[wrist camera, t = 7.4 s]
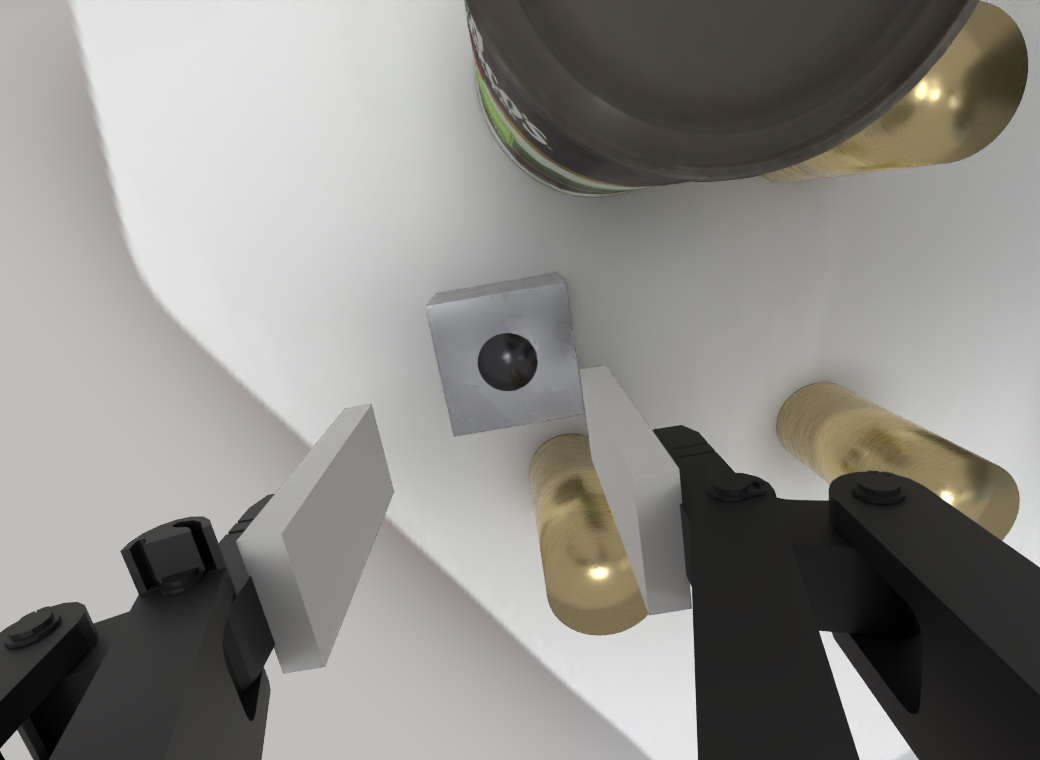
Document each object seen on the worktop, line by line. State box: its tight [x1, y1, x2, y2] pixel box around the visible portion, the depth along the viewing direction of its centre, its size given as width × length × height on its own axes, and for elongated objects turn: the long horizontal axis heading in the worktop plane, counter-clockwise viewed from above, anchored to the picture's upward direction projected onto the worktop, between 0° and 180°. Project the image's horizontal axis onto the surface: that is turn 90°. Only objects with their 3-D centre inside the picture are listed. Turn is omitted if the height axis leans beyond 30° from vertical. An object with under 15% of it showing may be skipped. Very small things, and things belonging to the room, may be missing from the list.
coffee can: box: [464, 0, 980, 197], centre depth 16 cm, size 10×10×14 cm
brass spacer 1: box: [530, 434, 649, 635], centre depth 24 cm, size 4×4×9 cm
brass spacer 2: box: [762, 1, 1028, 182], centre depth 19 cm, size 4×4×9 cm
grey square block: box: [426, 273, 585, 436], centre depth 24 cm, size 6×6×4 cm
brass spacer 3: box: [777, 382, 1020, 541], centre depth 23 cm, size 4×4×9 cm
